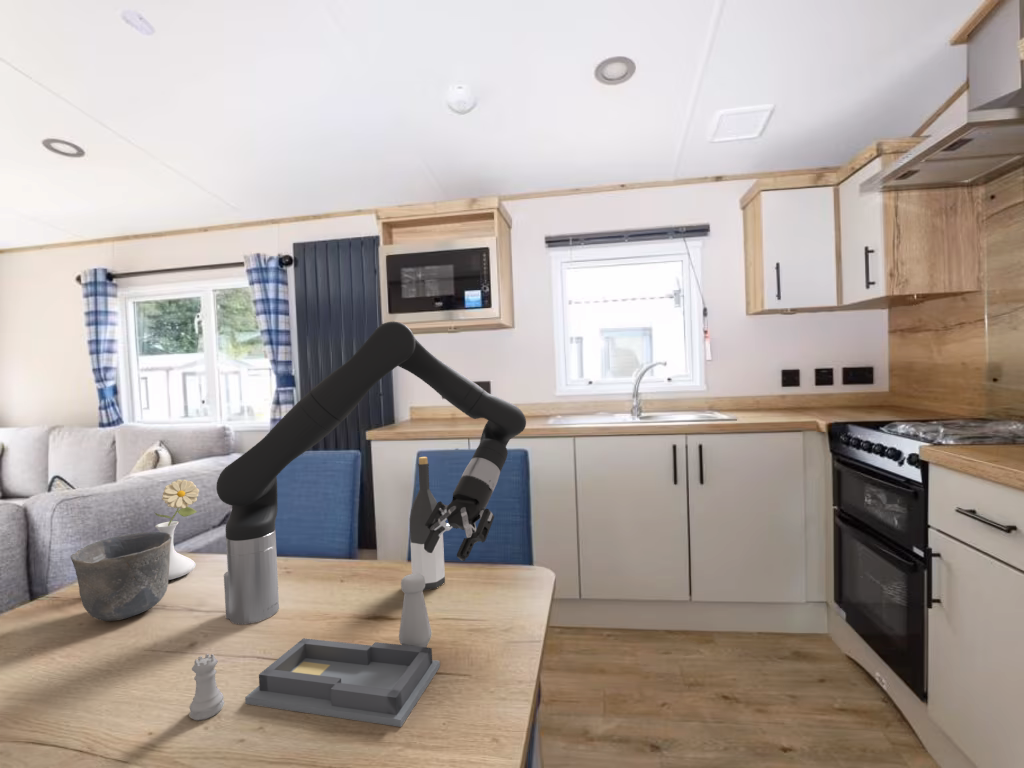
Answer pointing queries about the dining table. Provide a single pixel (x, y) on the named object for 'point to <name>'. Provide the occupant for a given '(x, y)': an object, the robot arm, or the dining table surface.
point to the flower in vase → (178, 497)
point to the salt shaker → (414, 613)
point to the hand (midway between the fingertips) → (443, 554)
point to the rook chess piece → (205, 689)
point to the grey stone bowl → (123, 574)
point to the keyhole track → (347, 680)
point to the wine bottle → (425, 533)
